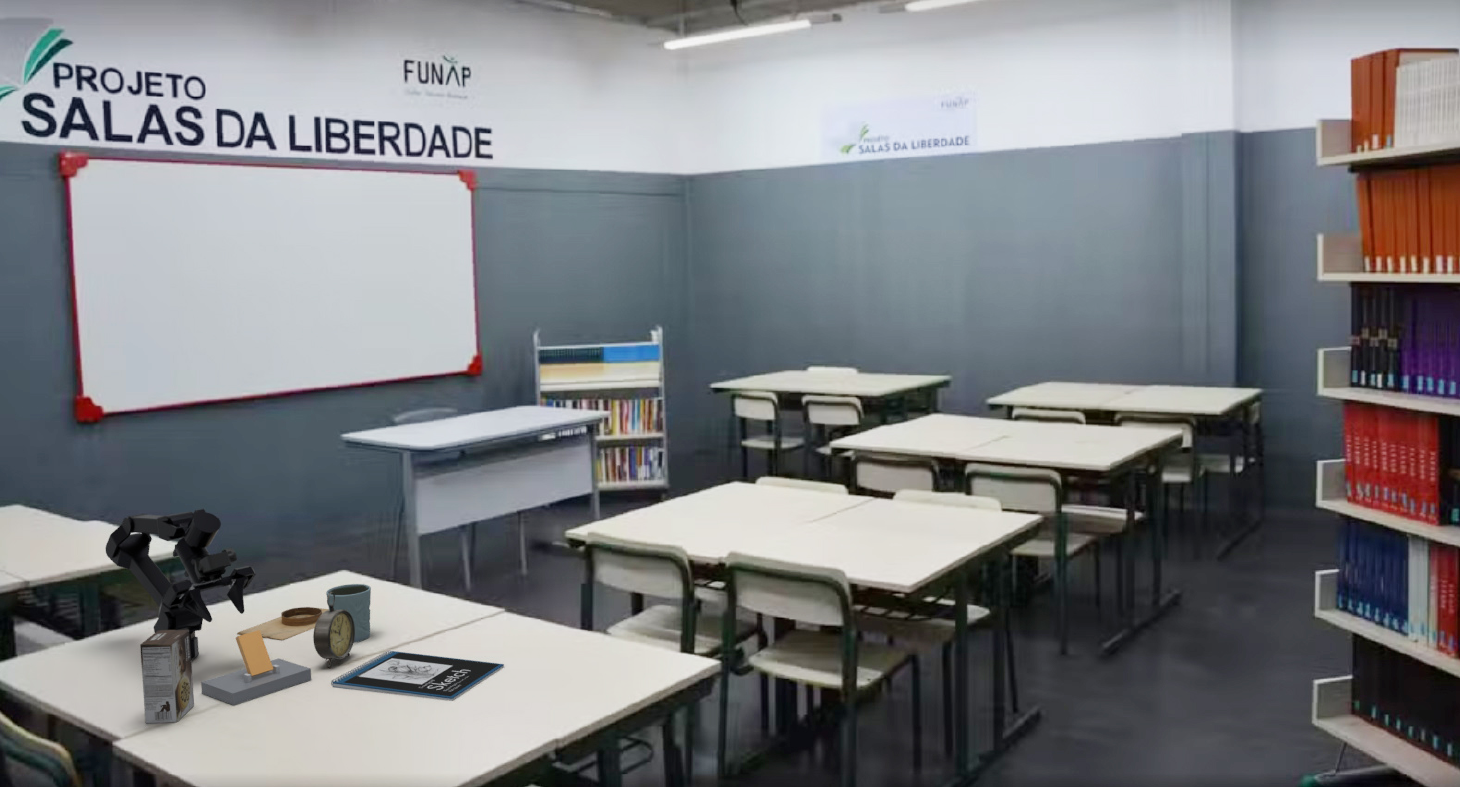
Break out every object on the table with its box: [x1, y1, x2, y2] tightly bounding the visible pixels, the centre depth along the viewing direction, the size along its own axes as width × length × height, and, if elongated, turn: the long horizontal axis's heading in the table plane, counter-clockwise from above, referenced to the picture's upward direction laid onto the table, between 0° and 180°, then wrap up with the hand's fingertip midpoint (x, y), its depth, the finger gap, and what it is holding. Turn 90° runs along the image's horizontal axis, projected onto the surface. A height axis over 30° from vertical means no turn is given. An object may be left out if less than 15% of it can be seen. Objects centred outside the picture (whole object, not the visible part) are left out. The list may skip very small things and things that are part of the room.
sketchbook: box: [330, 649, 505, 702], centre depth 249 cm, size 22×30×2 cm
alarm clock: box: [312, 592, 355, 669], centre depth 258 cm, size 11×5×16 cm, turn 168°
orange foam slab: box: [235, 630, 273, 677], centre depth 243 cm, size 1×5×9 cm, turn 143°
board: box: [236, 606, 329, 642], centre depth 289 cm, size 25×15×3 cm, turn 158°
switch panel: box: [200, 658, 312, 706], centre depth 244 cm, size 12×18×4 cm, turn 144°
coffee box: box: [139, 630, 195, 724], centre depth 228 cm, size 9×6×16 cm
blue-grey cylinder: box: [325, 583, 372, 643], centre depth 276 cm, size 10×10×12 cm
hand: (227, 616), depth 249 cm, fingers open, 7 cm apart
